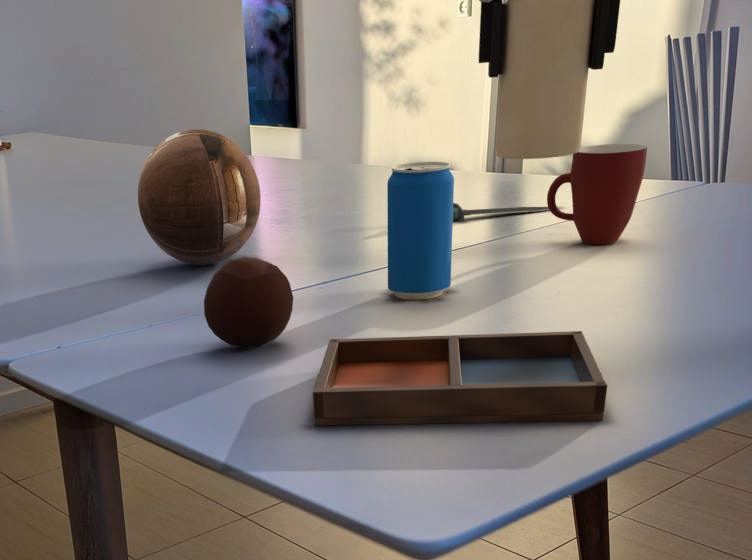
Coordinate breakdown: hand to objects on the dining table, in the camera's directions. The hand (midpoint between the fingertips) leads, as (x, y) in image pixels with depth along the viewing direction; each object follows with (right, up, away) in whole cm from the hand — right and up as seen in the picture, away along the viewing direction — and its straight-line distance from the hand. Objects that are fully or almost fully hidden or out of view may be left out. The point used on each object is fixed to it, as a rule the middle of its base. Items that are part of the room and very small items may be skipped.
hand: (544, 68), depth 59 cm
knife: (+12, +23, +71) cm, 75 cm away
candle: (0, -4, +3) cm, 5 cm away
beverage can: (-2, -1, +37) cm, 37 cm away
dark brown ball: (-19, -10, +25) cm, 33 cm away
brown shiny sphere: (-26, +11, +58) cm, 64 cm away
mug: (+21, +11, +52) cm, 57 cm away
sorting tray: (-4, -18, +11) cm, 21 cm away
